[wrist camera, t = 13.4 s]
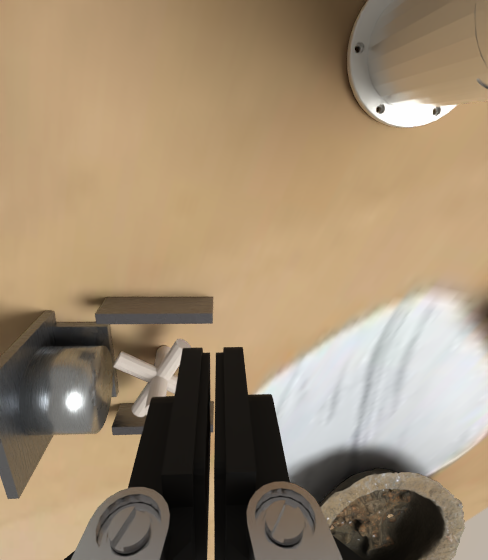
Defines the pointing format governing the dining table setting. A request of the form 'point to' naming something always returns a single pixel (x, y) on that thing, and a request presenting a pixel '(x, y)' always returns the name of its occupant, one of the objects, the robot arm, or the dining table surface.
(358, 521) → the stone bowl
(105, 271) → the dining table surface
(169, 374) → the pipe connector
